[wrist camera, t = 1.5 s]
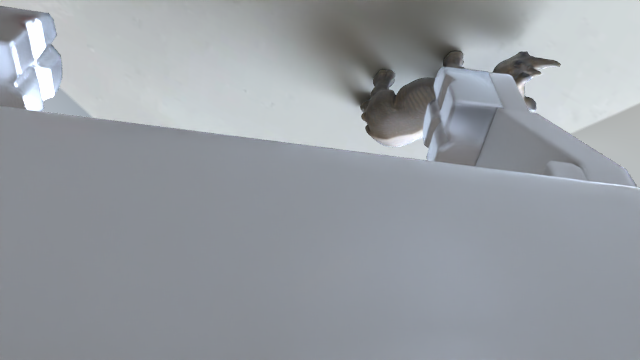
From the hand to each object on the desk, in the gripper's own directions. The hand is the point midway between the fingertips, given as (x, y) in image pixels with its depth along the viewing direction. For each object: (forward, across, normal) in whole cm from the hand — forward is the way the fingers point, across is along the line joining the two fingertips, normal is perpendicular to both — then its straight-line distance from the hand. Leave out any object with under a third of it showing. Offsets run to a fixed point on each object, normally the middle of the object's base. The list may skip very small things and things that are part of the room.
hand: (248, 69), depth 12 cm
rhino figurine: (+26, -12, +12) cm, 31 cm away
